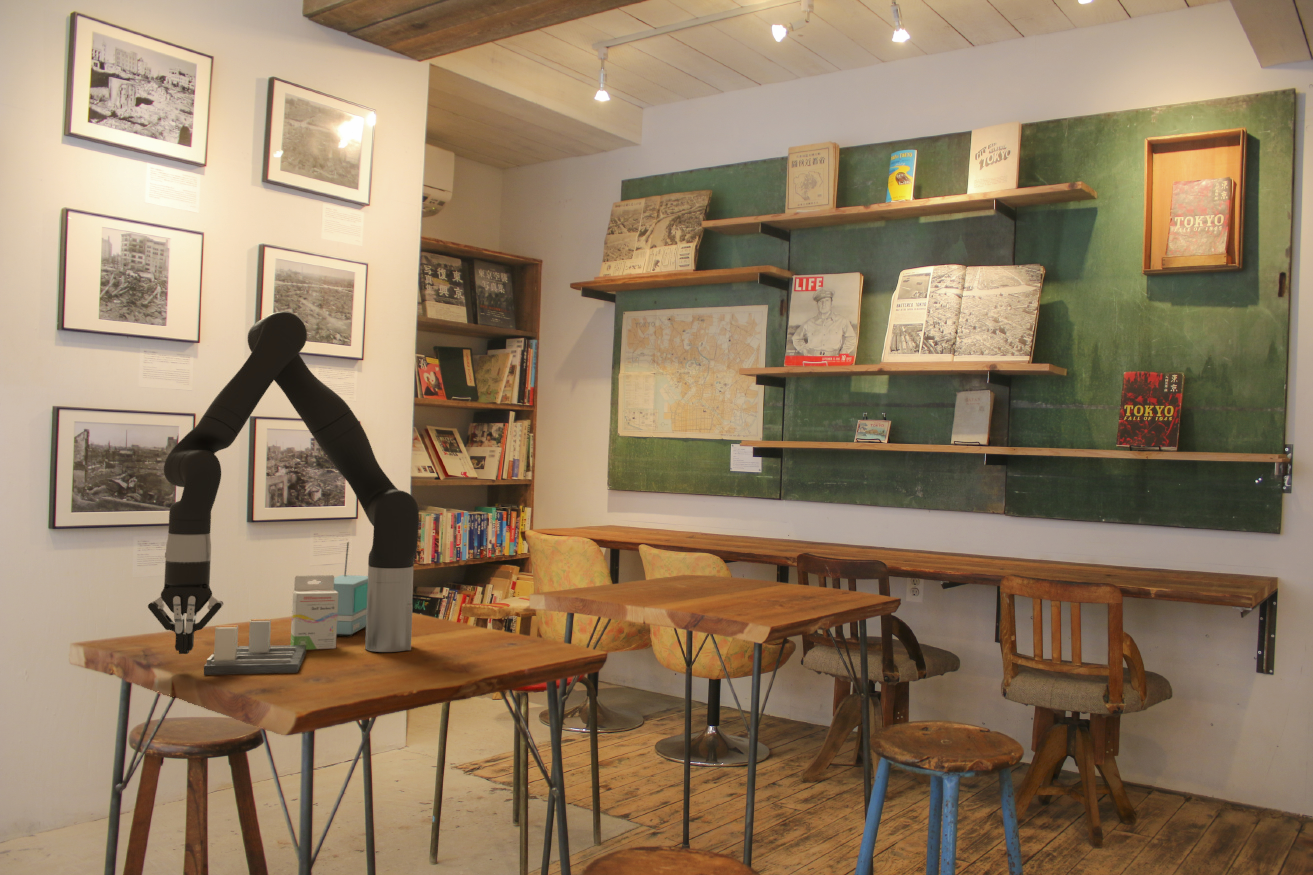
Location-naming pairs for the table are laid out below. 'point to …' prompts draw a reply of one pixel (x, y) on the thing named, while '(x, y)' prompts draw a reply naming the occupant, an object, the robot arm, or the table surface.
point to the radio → (351, 602)
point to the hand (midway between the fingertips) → (183, 653)
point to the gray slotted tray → (259, 661)
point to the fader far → (259, 635)
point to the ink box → (314, 612)
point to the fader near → (226, 642)
